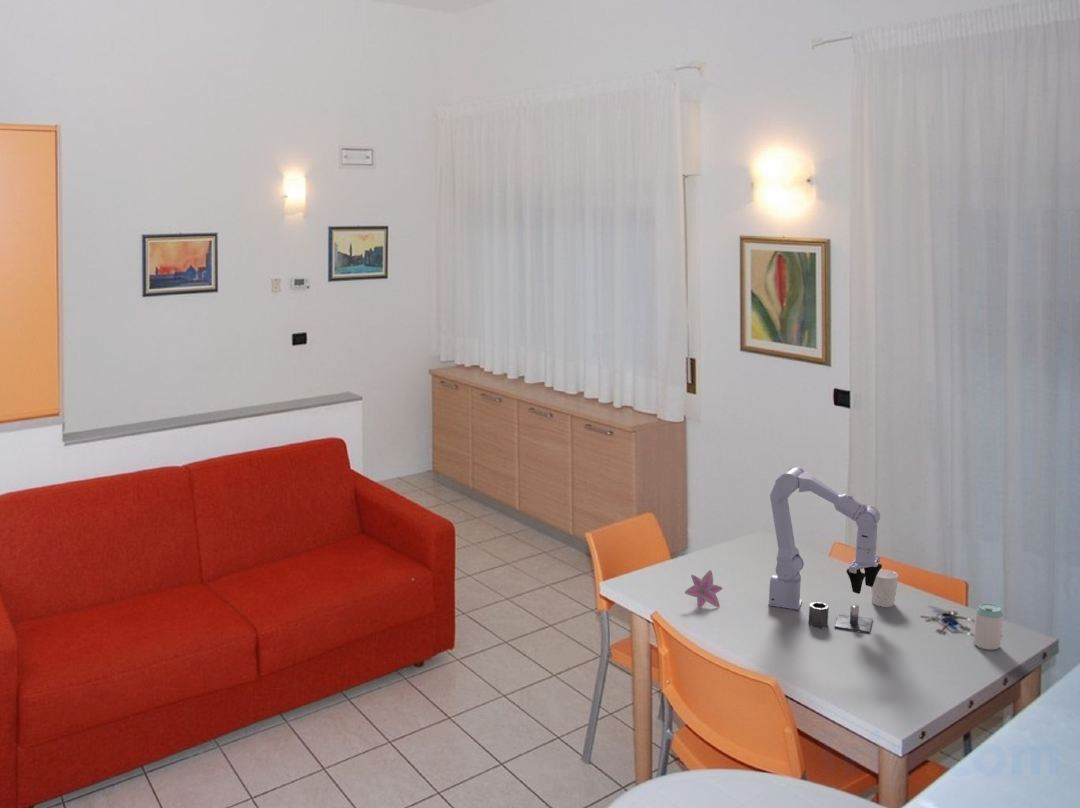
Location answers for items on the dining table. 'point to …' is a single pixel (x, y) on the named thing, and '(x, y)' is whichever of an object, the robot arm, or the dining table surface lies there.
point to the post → (853, 621)
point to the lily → (704, 590)
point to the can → (988, 627)
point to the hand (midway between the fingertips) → (862, 589)
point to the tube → (818, 614)
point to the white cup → (884, 588)
